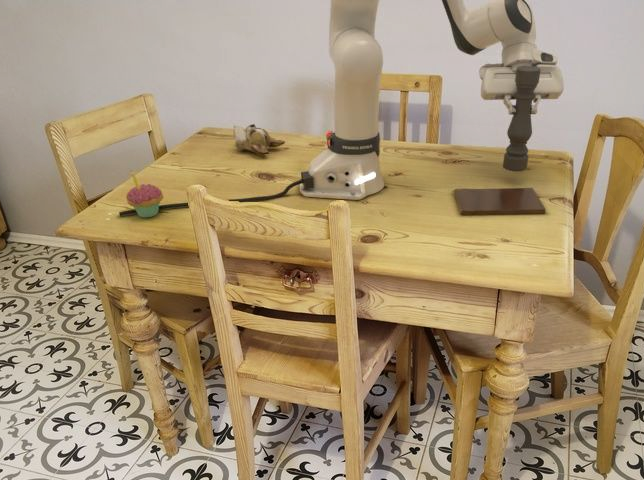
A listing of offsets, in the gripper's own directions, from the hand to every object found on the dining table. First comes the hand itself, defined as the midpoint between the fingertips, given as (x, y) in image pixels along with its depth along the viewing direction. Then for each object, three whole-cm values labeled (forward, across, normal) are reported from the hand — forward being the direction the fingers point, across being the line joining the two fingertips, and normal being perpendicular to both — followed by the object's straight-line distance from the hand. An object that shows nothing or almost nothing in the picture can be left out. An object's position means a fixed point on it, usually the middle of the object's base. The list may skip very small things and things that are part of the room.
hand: (523, 113), depth 151 cm
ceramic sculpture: (-6, -73, +33) cm, 80 cm away
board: (+22, -7, +4) cm, 24 cm away
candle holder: (+10, 0, +11) cm, 15 cm away
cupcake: (+25, -94, +2) cm, 97 cm away
